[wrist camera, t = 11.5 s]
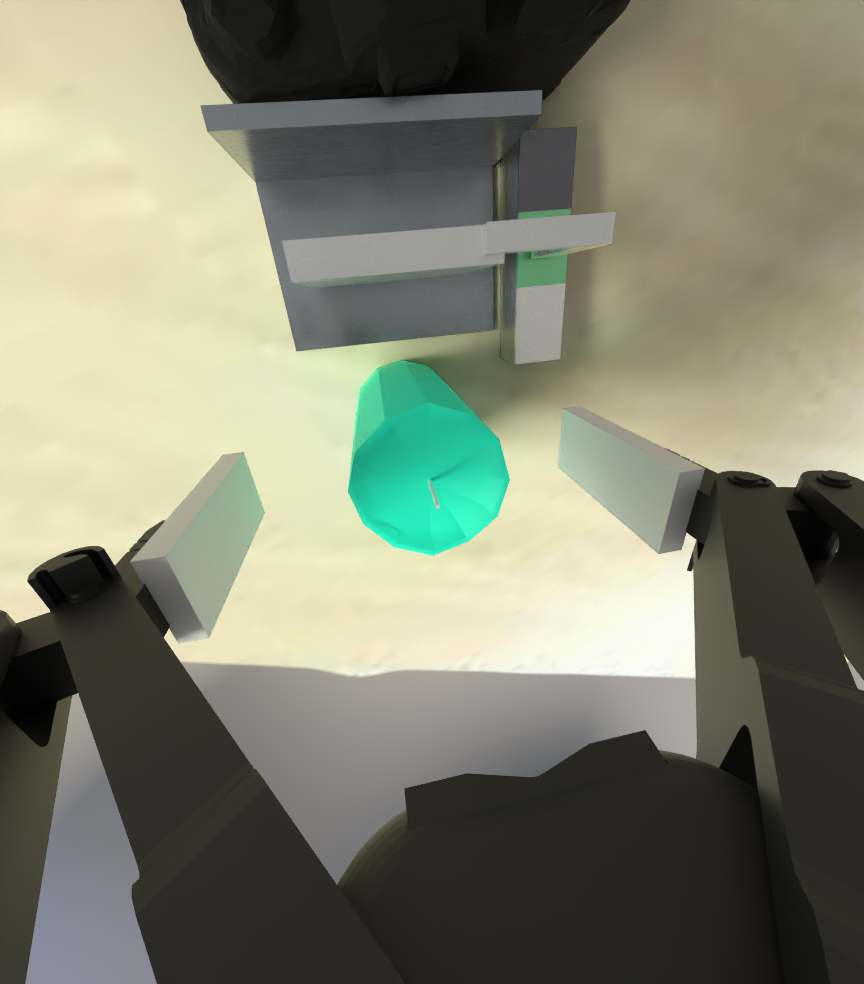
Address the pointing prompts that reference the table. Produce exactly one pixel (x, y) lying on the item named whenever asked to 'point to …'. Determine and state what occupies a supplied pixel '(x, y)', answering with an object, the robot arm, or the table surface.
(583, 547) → the table surface
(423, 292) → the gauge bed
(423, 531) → the candle
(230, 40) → the film camera
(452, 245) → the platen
